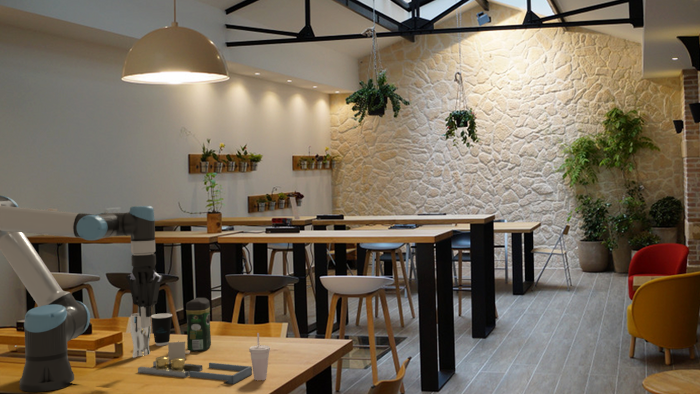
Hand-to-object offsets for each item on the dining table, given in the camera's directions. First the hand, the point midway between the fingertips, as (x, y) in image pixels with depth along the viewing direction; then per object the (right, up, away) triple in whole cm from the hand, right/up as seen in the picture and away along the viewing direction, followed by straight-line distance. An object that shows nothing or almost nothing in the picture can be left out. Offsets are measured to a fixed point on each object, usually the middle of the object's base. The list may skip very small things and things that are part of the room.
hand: (145, 326), depth 215 cm
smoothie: (+38, -14, -10) cm, 42 cm away
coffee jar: (+10, -14, +30) cm, 35 cm away
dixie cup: (-6, -14, +39) cm, 41 cm away
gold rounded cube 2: (+12, -13, -4) cm, 18 cm away
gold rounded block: (+6, -14, -2) cm, 15 cm away
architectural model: (+7, -15, +12) cm, 20 cm away
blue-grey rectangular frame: (+26, -14, -7) cm, 30 cm away
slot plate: (+9, -15, -3) cm, 17 cm away
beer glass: (-8, -15, +20) cm, 26 cm away
